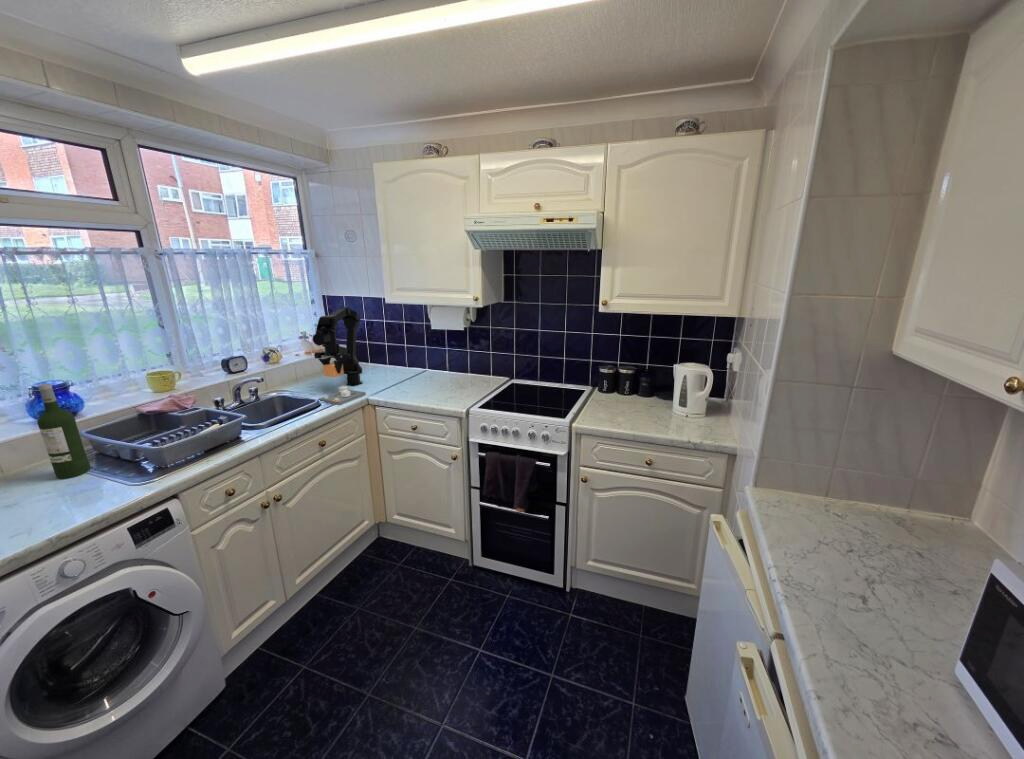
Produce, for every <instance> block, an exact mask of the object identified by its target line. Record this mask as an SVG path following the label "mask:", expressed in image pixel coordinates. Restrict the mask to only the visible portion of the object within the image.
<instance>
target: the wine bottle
mask: <svg viewBox="0 0 1024 759" xmlns="http://www.w3.org/2000/svg"><path fill="white" fill-rule="evenodd" d="M38 390H39V392H40V396H41V399H42V403H43V406H44V407H43V408H44V412H43V413H42V414H41V415H40V417H39V418H38V420H37V421H36V422H37V426H38V430H39V432H40V434H41V438H42V440H43V443H44V445H45V446H44V447H45V449H46V453H47V455H48V457H49V461H50V463H51V466H52V469H53V473H54V475H55V477H56V478H57V479H60V480H66V479H73V478H75V477H79V476H82V475H85V474H86V472H87V471H88V470H89V469H90V467H91V465H90V461H89V458H88V455H87V450H86V449H85V446H84V443H83V440H82V437H81V433H80V431H79V427H78V424H77V421H76V419H75V418H76V417H75V416H74V414H73V412H71V411H69V410H65V409H62V408H61V407H60V405H59V403H58V399H57V397H56V395H55V392H54V389H53V385H51V383H44V384H40V385H38ZM90 470H91V469H90ZM90 470H89V471H90ZM89 471H88V472H89ZM88 472H87V473H88ZM84 473H85V474H84Z"/></svg>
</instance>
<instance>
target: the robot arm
mask: <svg viewBox="0 0 1024 759" xmlns="http://www.w3.org/2000/svg"><path fill="white" fill-rule="evenodd" d="M340 321H343V325H344V327H345V328H346V346H345V347H344V346H341V345H340V343H339V342H337V336H336V335H337V334H336V332H337V331H338V330H337V328H336V327H337V326H338V325H339V322H340ZM360 325H361V315H360V314H359V313H358V312H357V311H355V310H354V309H353V310H352V309H351V308H350V307H347V306H345V307H344V306H342V307H339V308H338V309H337V310H335V311H334V312H332V313H330V314H328V315H323V316H320V317H319V319H318V320H317V325H316V329H315V334H314V335H313V336H312V342H313V343H314V345H316V346H322V347H323V348H324V350H322V351H321V350H320V351H317V352H315V353H314V359H318V361H320V363H321V364H322V366H323V365H326V364H330V363H331V360H332V359H334V360H333V361H332V363H334V364H335V367H336V370H337V372H338V373H340V372H341V368H342V364H343V370H344V374H343V375H346V381H347V382H346V383H345V385H346V386H352V387H355V386H358V385H361V384H362V385H363V381H361V374H363V368H362V367H361V365H360V363H359V362H360V361H359V359H358V358H357V353H356V352H357V348H356V347H357V330H358V328H359V327H360Z"/></svg>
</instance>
